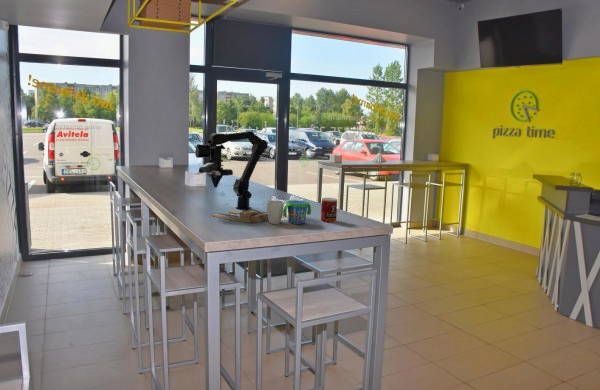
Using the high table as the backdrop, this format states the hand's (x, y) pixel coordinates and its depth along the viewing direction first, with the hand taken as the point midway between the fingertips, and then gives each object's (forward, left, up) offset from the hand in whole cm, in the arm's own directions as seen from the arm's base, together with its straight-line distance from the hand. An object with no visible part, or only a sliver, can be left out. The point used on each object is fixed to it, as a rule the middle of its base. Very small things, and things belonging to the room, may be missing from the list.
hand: (215, 187), depth 254 cm
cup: (+5, +42, -12) cm, 44 cm away
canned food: (-17, +59, -12) cm, 62 cm away
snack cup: (-2, +50, -12) cm, 51 cm away
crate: (+7, +28, -12) cm, 31 cm away
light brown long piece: (+6, +22, -12) cm, 25 cm away
